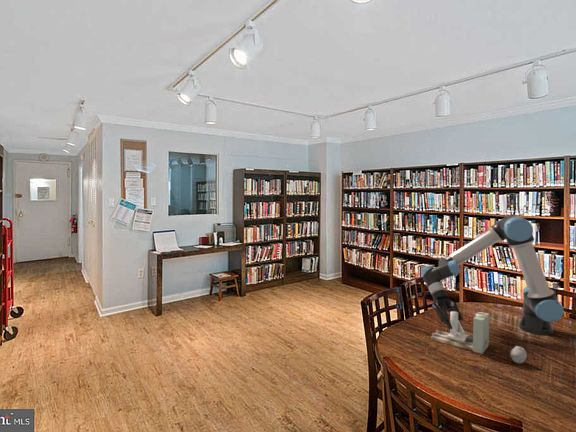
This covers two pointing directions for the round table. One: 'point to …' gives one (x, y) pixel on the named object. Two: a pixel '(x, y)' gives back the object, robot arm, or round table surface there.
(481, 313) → the gauge cabinet
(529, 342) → the round table surface
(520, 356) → the grey round lump
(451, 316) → the carriage
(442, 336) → the rail track
